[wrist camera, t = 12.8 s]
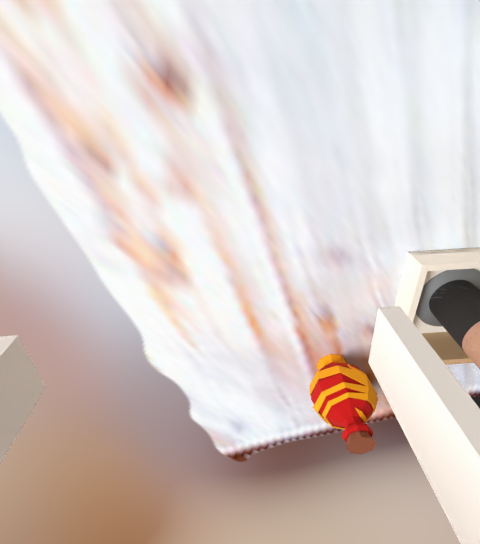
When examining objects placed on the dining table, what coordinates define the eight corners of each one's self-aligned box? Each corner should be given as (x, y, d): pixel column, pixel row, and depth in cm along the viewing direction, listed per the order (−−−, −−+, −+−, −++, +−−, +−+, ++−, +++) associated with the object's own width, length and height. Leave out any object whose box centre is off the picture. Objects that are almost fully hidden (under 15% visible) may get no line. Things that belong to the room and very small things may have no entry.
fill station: (407, 251, 46) (434, 276, 40) (516, 245, 46) (560, 269, 40) (387, 335, 54) (407, 366, 48) (480, 329, 55) (511, 360, 48)
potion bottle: (360, 378, 60) (397, 460, 47) (305, 388, 60) (327, 470, 48) (359, 337, 54) (401, 416, 41) (299, 348, 55) (321, 428, 42)
